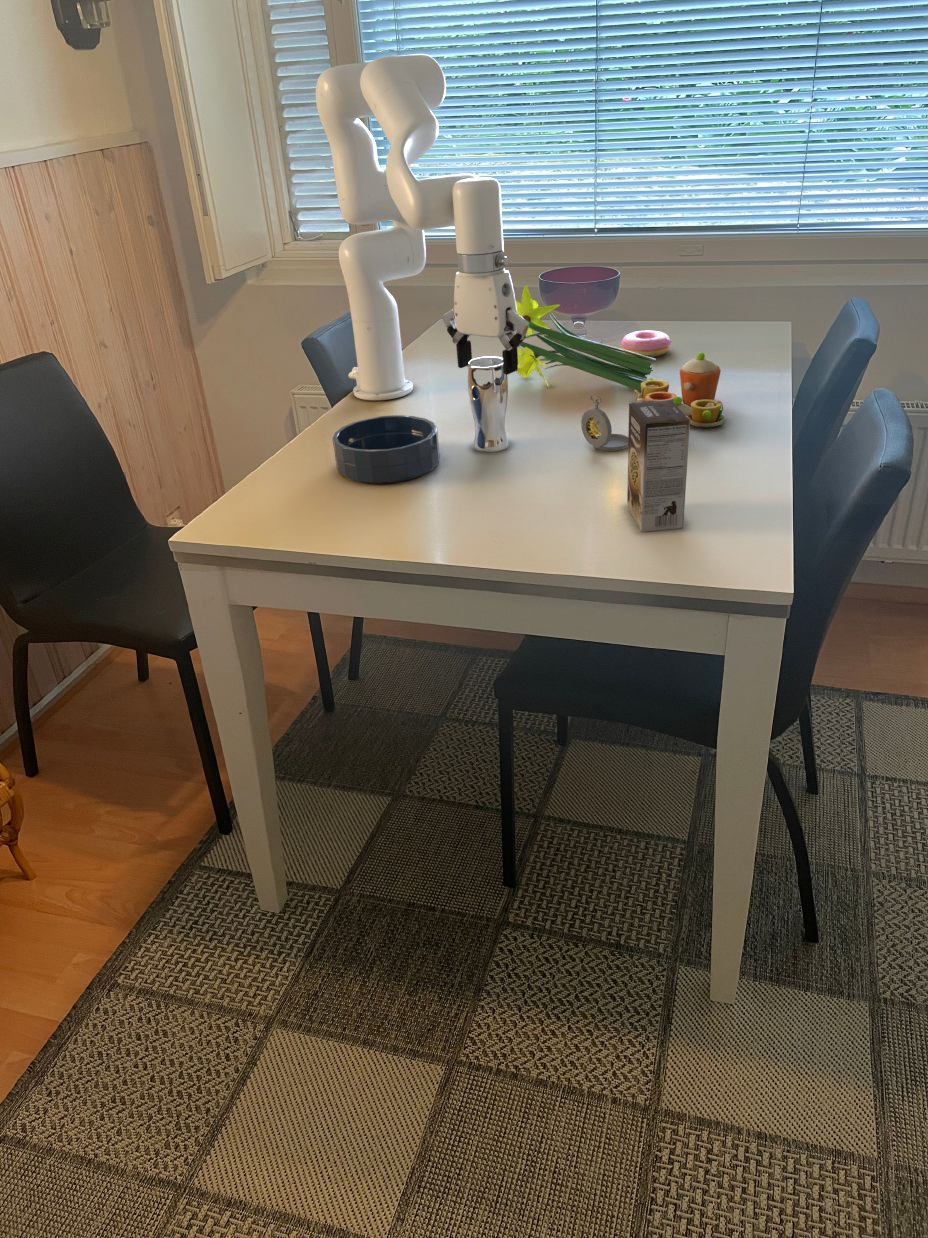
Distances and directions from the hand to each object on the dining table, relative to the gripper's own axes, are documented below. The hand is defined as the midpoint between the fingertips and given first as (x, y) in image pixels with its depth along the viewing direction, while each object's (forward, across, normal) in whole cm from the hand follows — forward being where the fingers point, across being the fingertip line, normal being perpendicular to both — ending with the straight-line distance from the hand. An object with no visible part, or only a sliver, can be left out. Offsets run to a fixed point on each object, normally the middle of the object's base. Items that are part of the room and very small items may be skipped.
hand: (487, 368), depth 159 cm
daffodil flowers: (+14, +7, -39) cm, 42 cm away
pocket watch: (+14, -18, -9) cm, 24 cm away
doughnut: (+14, +5, -64) cm, 66 cm away
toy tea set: (+14, -22, -29) cm, 39 cm away
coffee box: (+14, -39, +12) cm, 43 cm away
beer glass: (+14, 0, 0) cm, 14 cm away
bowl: (+14, +10, +16) cm, 23 cm away
